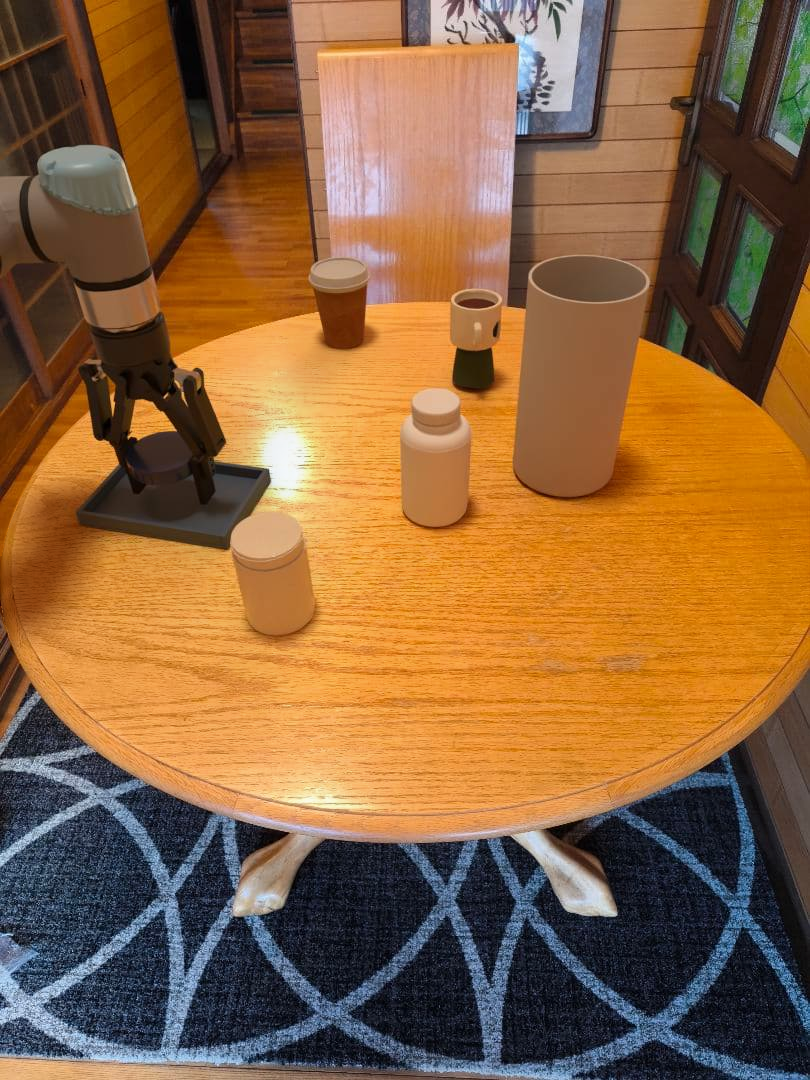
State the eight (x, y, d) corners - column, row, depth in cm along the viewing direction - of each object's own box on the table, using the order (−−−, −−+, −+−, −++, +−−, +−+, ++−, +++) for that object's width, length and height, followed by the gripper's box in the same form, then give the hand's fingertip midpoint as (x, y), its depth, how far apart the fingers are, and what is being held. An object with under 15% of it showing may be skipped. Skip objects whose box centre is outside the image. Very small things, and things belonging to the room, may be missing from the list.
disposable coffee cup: (325, 358, 120) (317, 284, 112) (308, 332, 127) (300, 261, 119) (381, 346, 123) (378, 273, 115) (362, 322, 129) (358, 251, 121)
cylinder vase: (566, 431, 103) (591, 246, 87) (633, 477, 95) (675, 283, 79) (492, 461, 98) (504, 272, 82) (556, 513, 90) (584, 314, 74)
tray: (79, 525, 91) (74, 512, 90) (135, 461, 101) (131, 449, 99) (227, 549, 87) (224, 536, 86) (271, 481, 97) (269, 468, 95)
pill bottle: (447, 537, 88) (449, 427, 78) (389, 515, 91) (383, 406, 81) (480, 500, 93) (485, 392, 83) (423, 480, 96) (422, 374, 86)
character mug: (500, 401, 109) (506, 315, 101) (450, 402, 110) (452, 317, 101) (493, 363, 118) (498, 281, 109) (447, 364, 118) (448, 282, 109)
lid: (214, 448, 92) (211, 435, 91) (181, 490, 86) (178, 477, 85) (151, 439, 94) (148, 426, 92) (115, 479, 88) (111, 466, 86)
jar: (235, 629, 78) (215, 552, 71) (262, 580, 83) (246, 505, 76) (301, 641, 77) (288, 564, 70) (324, 591, 82) (314, 515, 75)
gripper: (235, 310, 78) (266, 485, 93) (56, 292, 82) (113, 463, 98) (203, 344, 73) (242, 524, 88) (13, 323, 77) (81, 499, 92)
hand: (174, 492), depth 93 cm, fingers closed on lid, 8 cm apart
